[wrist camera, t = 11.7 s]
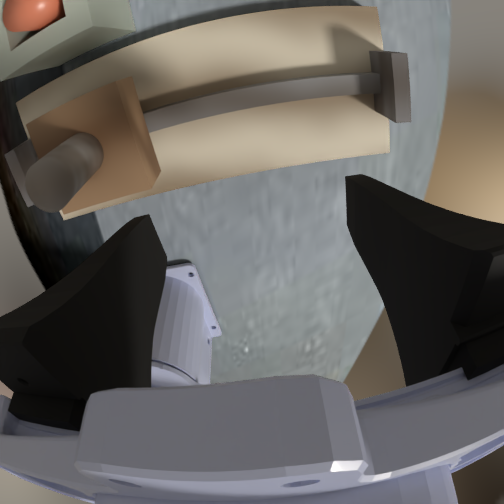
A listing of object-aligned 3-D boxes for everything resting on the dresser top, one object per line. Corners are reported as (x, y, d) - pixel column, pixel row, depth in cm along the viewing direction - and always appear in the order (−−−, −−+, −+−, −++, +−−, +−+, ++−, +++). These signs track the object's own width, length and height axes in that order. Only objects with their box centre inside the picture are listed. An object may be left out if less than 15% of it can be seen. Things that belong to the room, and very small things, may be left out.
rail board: (380, 145, 20) (410, 169, 16) (71, 210, 22) (46, 243, 18) (367, 9, 14) (400, 2, 10) (27, 98, 16) (-10, 114, 12)
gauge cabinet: (136, 31, 14) (92, 26, 9) (58, 66, 15) (0, 81, 10) (119, -45, 11) (74, -72, 5) (42, -5, 11) (-16, -9, 6)
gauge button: (79, 15, 10) (50, 13, 8) (38, 38, 10) (6, 42, 8) (71, -24, 8) (42, -32, 6) (31, 0, 9) (-1, -1, 6)
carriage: (161, 170, 17) (130, 231, 12) (79, 195, 18) (32, 256, 13) (131, 76, 14) (77, 94, 9) (47, 113, 14) (-20, 151, 9)
